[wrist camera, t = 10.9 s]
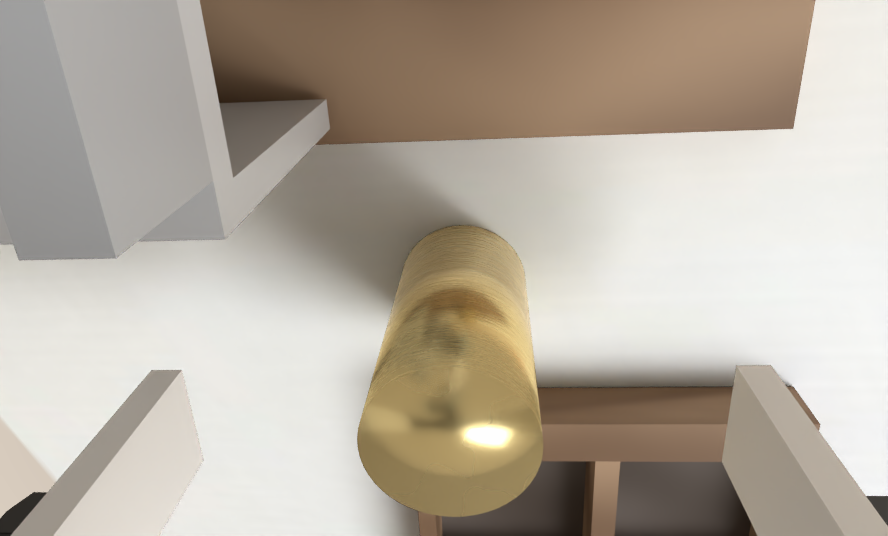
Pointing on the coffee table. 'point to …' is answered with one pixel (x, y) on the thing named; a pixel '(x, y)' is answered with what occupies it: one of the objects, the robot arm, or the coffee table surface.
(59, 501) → the robot arm
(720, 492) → the socket block
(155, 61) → the cover
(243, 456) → the coffee table surface
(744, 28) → the pattern board
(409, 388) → the peg
